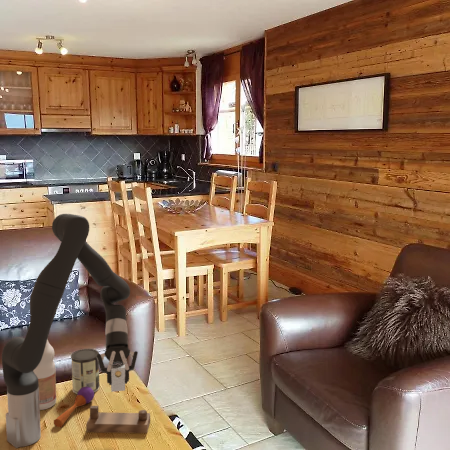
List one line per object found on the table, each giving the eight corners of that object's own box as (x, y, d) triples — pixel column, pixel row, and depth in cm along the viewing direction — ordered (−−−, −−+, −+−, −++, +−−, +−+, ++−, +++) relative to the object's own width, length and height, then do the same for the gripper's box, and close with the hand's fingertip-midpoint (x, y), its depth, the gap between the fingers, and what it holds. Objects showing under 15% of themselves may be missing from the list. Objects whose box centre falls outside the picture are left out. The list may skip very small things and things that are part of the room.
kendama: (48, 415, 166) (81, 383, 184) (52, 431, 167) (85, 397, 185) (63, 415, 164) (95, 383, 182) (67, 431, 165) (98, 397, 183)
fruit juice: (46, 412, 174) (44, 337, 169) (23, 408, 176) (19, 334, 171) (61, 399, 183) (59, 327, 178) (39, 395, 185) (36, 324, 180)
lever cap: (111, 392, 162) (111, 369, 161) (111, 387, 165) (111, 364, 164) (125, 391, 163) (125, 368, 162) (124, 386, 166) (124, 363, 165)
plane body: (86, 432, 163) (85, 412, 162) (91, 420, 170) (91, 401, 169) (147, 433, 163) (147, 413, 162) (150, 421, 170) (150, 402, 169)
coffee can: (86, 379, 198) (85, 346, 196) (105, 386, 193) (104, 352, 191) (66, 390, 190) (65, 355, 187) (85, 397, 184) (84, 362, 182)
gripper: (95, 331, 167) (95, 381, 157) (138, 328, 170) (141, 377, 161) (95, 340, 173) (95, 389, 163) (136, 337, 176) (139, 385, 167)
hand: (118, 383), depth 162 cm, fingers closed on lever cap, 4 cm apart
